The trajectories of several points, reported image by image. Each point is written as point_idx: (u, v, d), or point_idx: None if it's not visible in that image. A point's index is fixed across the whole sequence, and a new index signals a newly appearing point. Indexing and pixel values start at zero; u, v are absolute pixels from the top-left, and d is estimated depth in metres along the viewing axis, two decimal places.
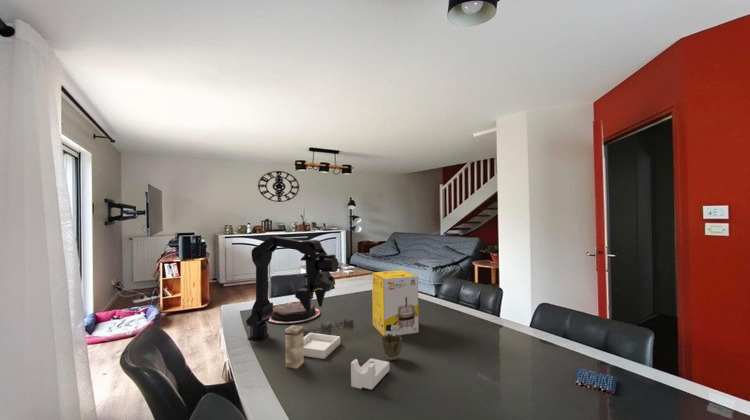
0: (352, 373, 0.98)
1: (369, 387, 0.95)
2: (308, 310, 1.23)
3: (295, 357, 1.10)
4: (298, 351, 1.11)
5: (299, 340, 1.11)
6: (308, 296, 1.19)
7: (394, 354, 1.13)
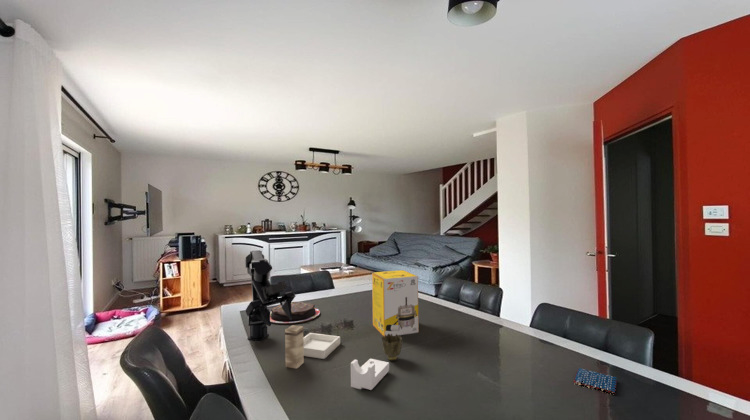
0: (352, 374, 0.97)
1: (369, 387, 0.95)
2: (267, 322, 1.14)
3: (295, 357, 1.10)
4: (298, 351, 1.11)
5: (299, 340, 1.11)
6: (253, 305, 1.13)
7: (394, 354, 1.13)
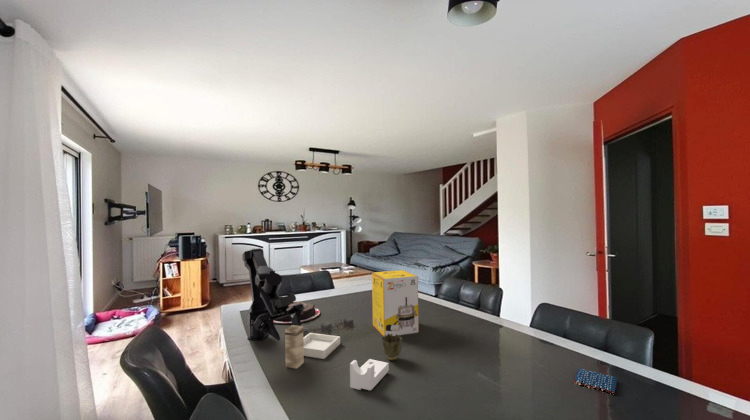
0: (351, 374, 0.97)
1: (368, 388, 0.94)
2: (276, 336, 1.10)
3: (295, 357, 1.10)
4: (298, 351, 1.11)
5: (299, 340, 1.11)
6: (262, 318, 1.09)
7: (394, 354, 1.13)
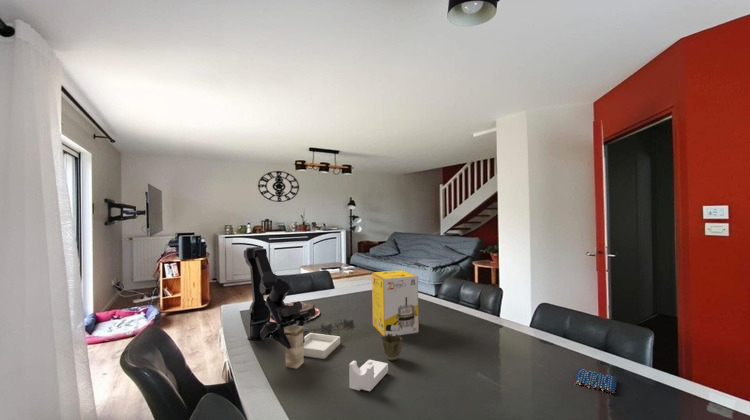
0: (350, 375, 0.97)
1: (367, 389, 0.94)
2: (286, 344, 1.09)
3: (295, 357, 1.10)
4: (298, 351, 1.11)
5: (299, 340, 1.11)
6: (268, 328, 1.07)
7: (394, 354, 1.13)
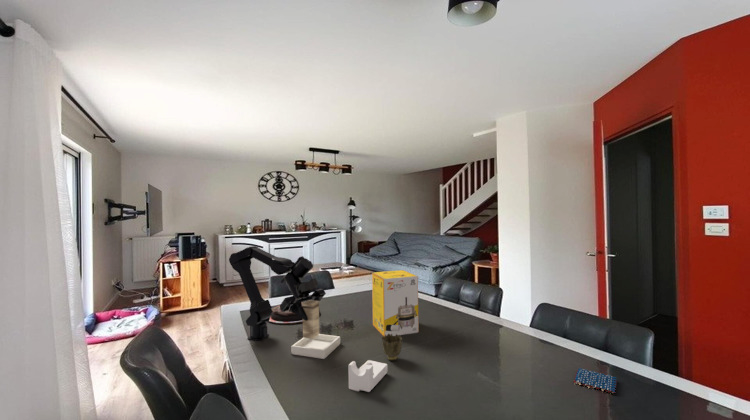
0: (349, 375, 0.96)
1: (367, 389, 0.94)
2: (304, 317, 1.19)
3: (312, 328, 1.19)
4: (314, 323, 1.20)
5: (315, 313, 1.21)
6: (287, 301, 1.17)
7: (394, 354, 1.13)
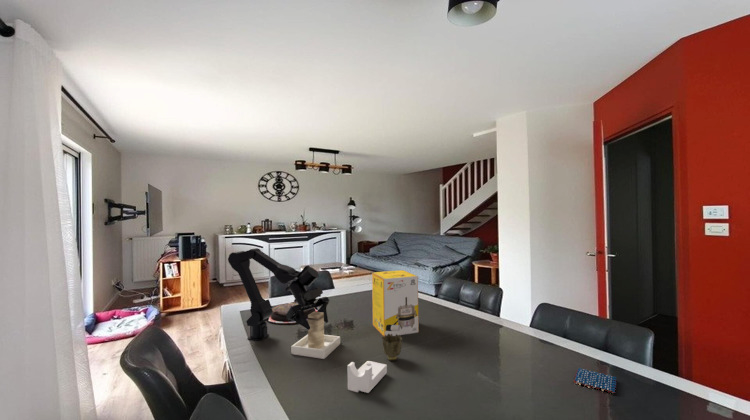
0: (348, 376, 0.96)
1: (366, 390, 0.93)
2: (306, 326, 1.21)
3: (317, 339, 1.23)
4: (319, 335, 1.23)
5: (320, 325, 1.24)
6: (294, 310, 1.20)
7: (394, 354, 1.13)
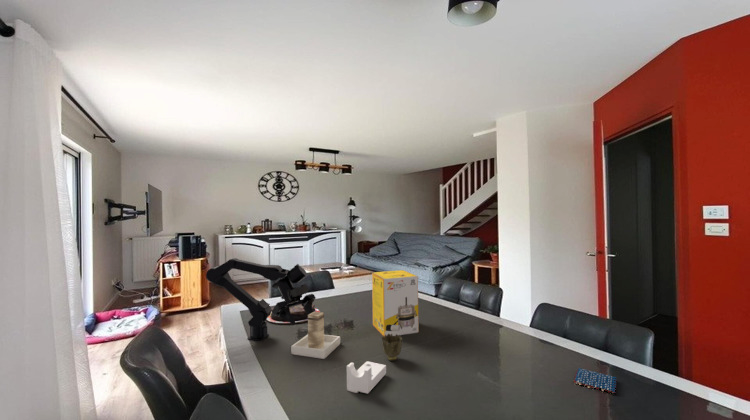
0: (348, 377, 0.96)
1: (365, 391, 0.93)
2: (292, 321, 1.27)
3: (317, 339, 1.23)
4: (319, 335, 1.23)
5: (320, 325, 1.24)
6: (279, 306, 1.25)
7: (394, 354, 1.13)
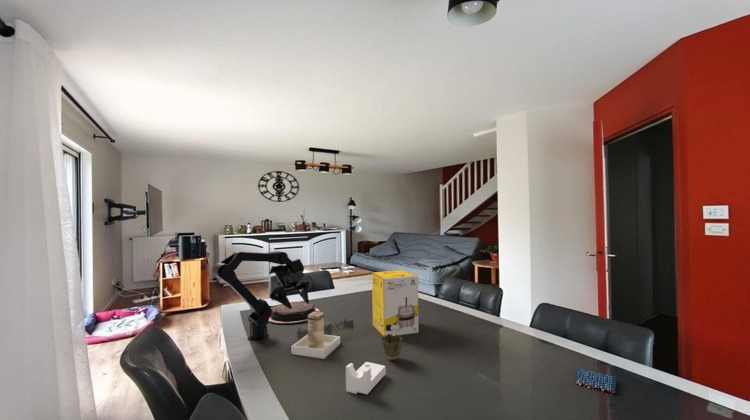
0: (347, 378, 0.95)
1: (364, 392, 0.92)
2: (288, 305, 1.34)
3: (317, 339, 1.23)
4: (319, 335, 1.23)
5: (320, 325, 1.24)
6: (277, 290, 1.33)
7: (394, 354, 1.13)
